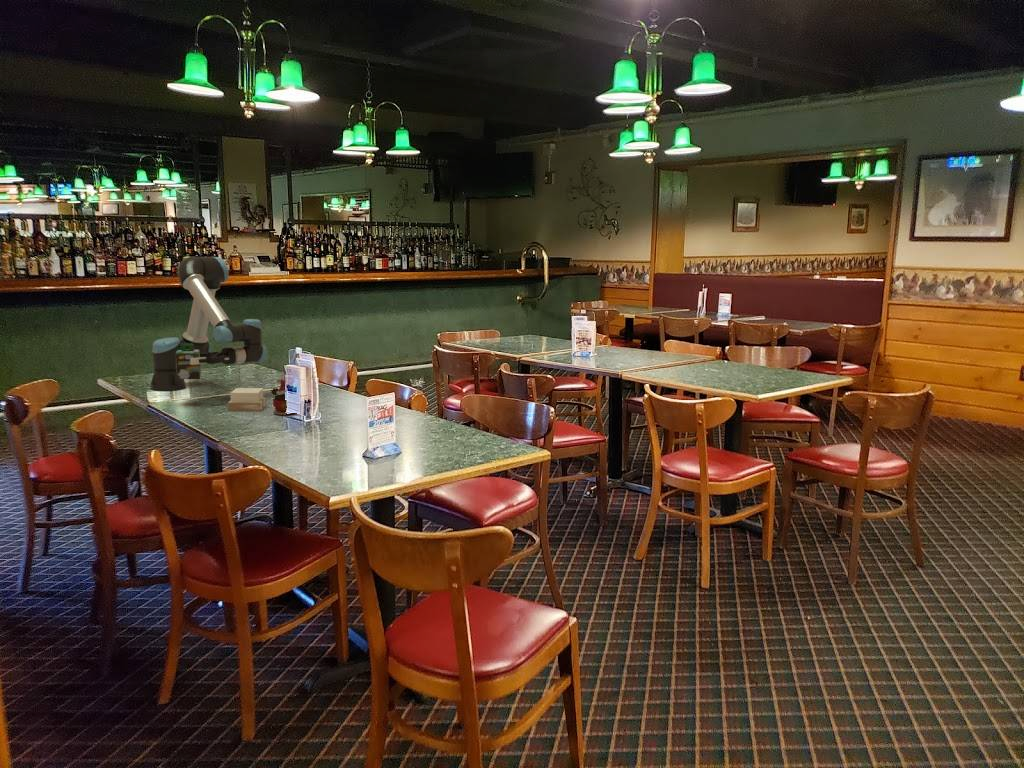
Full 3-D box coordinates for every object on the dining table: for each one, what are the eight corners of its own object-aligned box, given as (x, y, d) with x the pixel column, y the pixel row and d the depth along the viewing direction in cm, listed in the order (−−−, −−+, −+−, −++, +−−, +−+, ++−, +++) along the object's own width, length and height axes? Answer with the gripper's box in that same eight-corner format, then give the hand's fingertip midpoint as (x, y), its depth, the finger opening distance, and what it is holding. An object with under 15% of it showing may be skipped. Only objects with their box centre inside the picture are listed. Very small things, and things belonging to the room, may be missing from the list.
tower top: (236, 397, 318) (236, 387, 317) (263, 397, 319) (263, 388, 318) (230, 402, 307) (230, 392, 306) (258, 402, 308) (258, 392, 308)
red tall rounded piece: (298, 410, 311) (297, 368, 308) (299, 415, 303) (299, 372, 300) (271, 411, 308) (270, 368, 305) (272, 416, 299) (271, 372, 296)
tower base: (234, 405, 319) (234, 396, 318) (266, 406, 320) (265, 397, 320) (227, 412, 306) (227, 402, 305) (260, 412, 308) (260, 403, 307)
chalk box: (201, 375, 321) (199, 341, 318) (200, 379, 312) (199, 344, 309) (177, 376, 317) (176, 341, 315) (176, 379, 309) (175, 344, 306)
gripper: (246, 367, 321) (197, 372, 305) (219, 360, 336) (171, 364, 320) (246, 350, 319) (196, 354, 303) (219, 344, 335) (171, 347, 319)
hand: (183, 359), depth 312 cm, fingers closed on chalk box, 12 cm apart
